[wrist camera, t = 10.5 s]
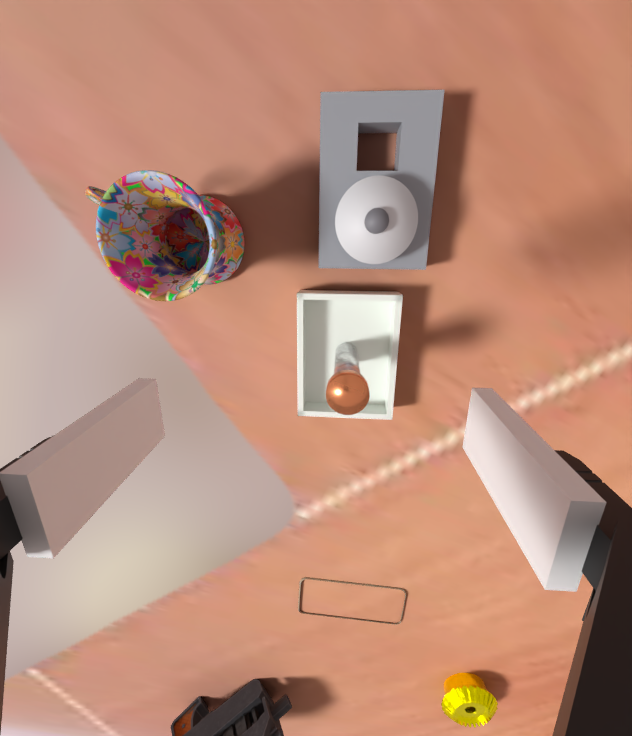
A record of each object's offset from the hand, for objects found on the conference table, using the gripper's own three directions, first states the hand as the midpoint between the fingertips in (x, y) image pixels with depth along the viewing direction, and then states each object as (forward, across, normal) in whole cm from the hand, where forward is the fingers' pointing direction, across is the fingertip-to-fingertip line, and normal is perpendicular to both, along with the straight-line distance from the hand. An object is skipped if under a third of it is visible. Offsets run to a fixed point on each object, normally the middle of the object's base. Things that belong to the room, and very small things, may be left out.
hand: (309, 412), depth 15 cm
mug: (+25, -14, +7) cm, 30 cm away
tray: (+24, +2, -5) cm, 25 cm away
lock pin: (+24, +2, -5) cm, 24 cm away
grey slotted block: (+25, +4, +11) cm, 28 cm away
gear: (+24, +22, -58) cm, 66 cm away
